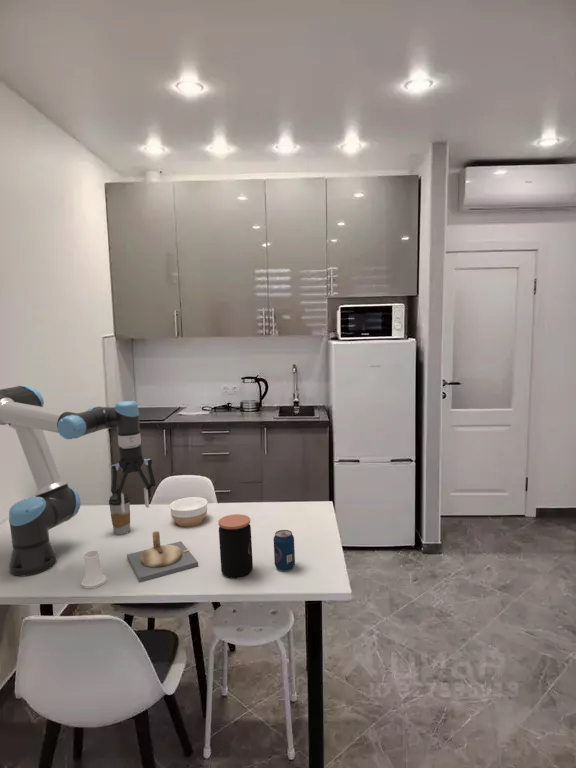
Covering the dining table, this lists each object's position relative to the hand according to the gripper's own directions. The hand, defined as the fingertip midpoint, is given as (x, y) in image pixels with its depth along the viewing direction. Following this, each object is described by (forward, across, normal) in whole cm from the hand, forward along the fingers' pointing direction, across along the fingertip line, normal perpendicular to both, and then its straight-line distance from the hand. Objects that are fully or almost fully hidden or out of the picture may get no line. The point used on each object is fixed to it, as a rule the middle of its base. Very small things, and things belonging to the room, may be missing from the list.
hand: (135, 508), depth 180 cm
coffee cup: (+19, 0, +30) cm, 36 cm away
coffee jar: (+19, +26, -27) cm, 42 cm away
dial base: (+19, +6, -6) cm, 21 cm away
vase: (+19, -16, -8) cm, 27 cm away
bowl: (+19, +26, +25) cm, 41 cm away
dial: (+17, +7, -6) cm, 20 cm away
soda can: (+19, +42, -33) cm, 56 cm away
